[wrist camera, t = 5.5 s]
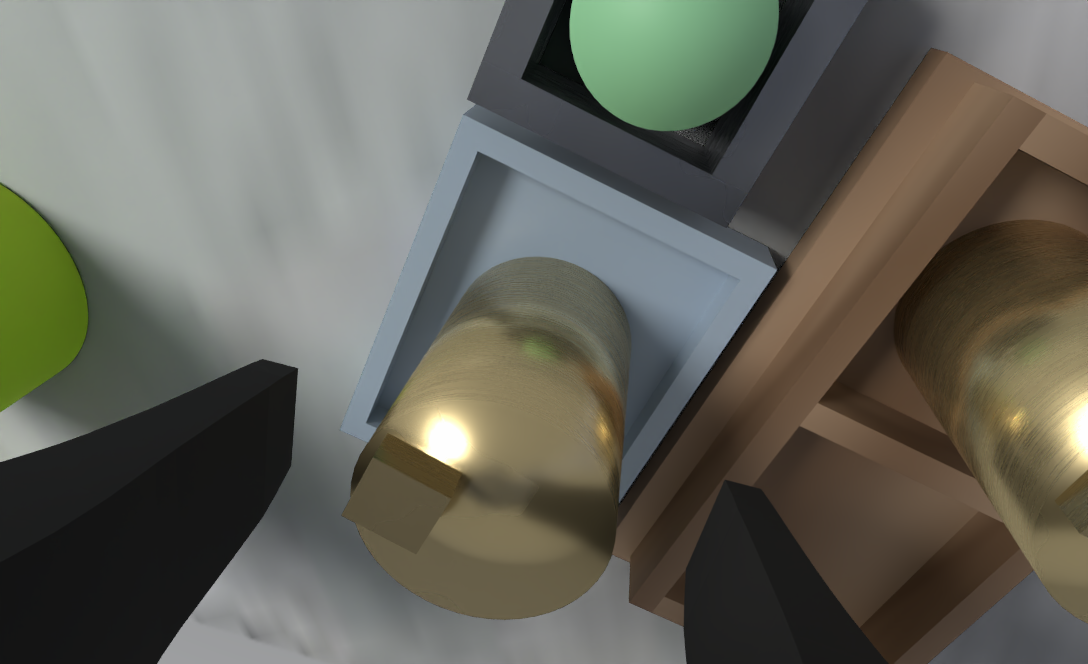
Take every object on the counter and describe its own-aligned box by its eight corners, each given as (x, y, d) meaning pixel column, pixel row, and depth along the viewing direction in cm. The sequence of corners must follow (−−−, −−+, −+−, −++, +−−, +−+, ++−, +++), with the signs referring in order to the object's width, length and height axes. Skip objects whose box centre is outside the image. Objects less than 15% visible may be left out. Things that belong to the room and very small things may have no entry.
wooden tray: (1294, 242, 14) (1408, 290, 12) (867, 647, 20) (893, 726, 17) (931, 47, 13) (983, 62, 11) (603, 528, 19) (597, 595, 17)
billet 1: (667, 316, 15) (670, 521, 9) (574, 446, 17) (528, 688, 11) (502, 222, 15) (399, 373, 9) (424, 365, 17) (296, 569, 11)
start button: (787, -31, 12) (822, -30, 10) (698, 129, 14) (709, 163, 11) (632, -113, 12) (628, -135, 10) (557, 57, 14) (536, 77, 11)
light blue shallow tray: (767, 246, 15) (777, 269, 14) (595, 507, 19) (591, 543, 17) (477, 102, 14) (462, 114, 13) (359, 400, 18) (339, 430, 17)
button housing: (869, -63, 12) (910, -68, 10) (715, 193, 15) (726, 228, 13) (607, -205, 12) (599, -240, 10) (492, 81, 14) (466, 99, 12)
